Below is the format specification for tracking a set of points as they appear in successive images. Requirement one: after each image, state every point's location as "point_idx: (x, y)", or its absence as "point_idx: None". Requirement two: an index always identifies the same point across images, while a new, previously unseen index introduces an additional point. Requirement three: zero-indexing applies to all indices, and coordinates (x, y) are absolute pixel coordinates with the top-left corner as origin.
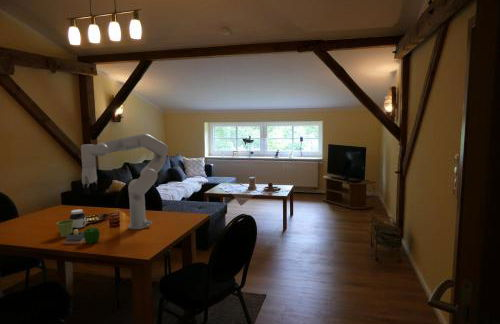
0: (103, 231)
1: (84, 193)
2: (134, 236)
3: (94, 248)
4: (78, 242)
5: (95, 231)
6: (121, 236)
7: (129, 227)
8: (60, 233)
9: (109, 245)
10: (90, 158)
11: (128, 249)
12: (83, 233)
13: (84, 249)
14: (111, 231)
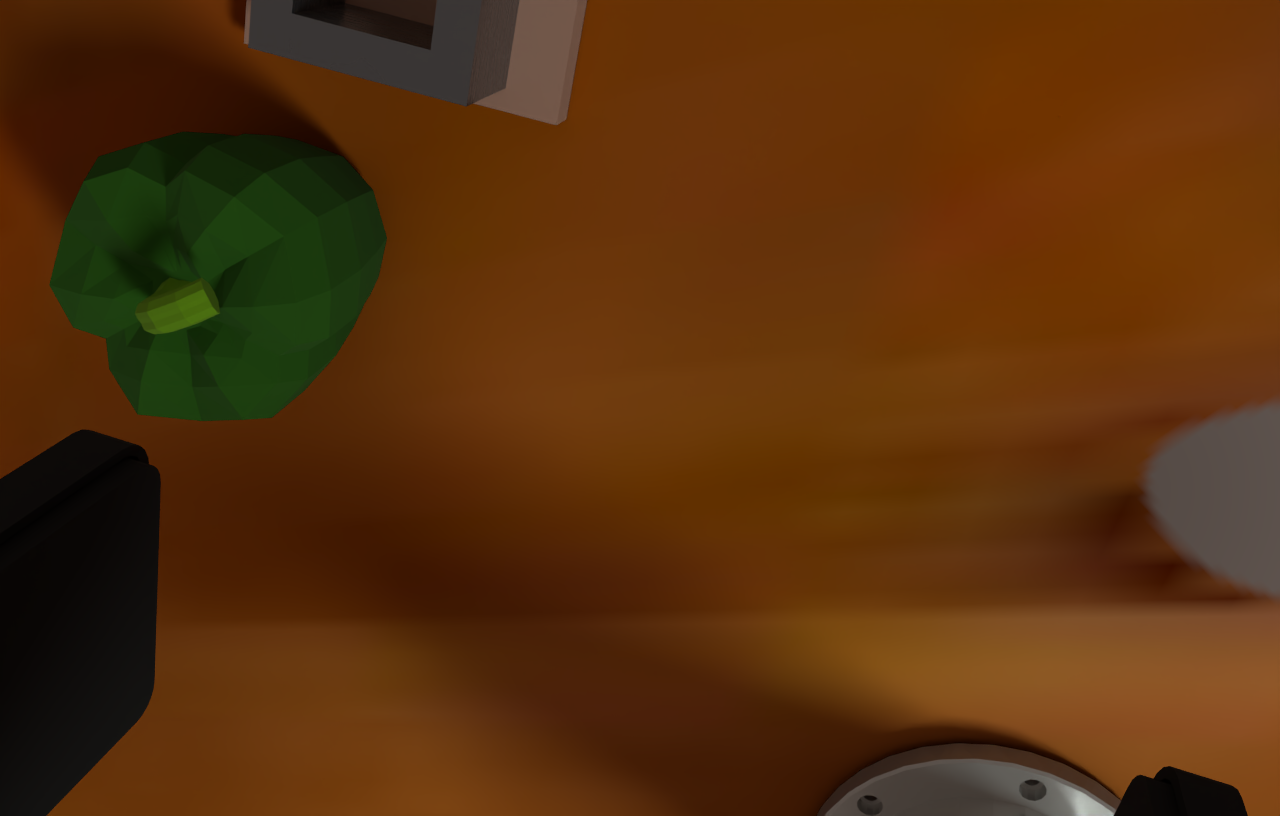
0: (893, 330)
1: (82, 447)
2: (482, 795)
3: (58, 310)
4: (250, 2)
5: (121, 380)
6: (518, 636)
7: (884, 771)
8: None
9: (160, 497)
10: None
11: None
12: (364, 75)
13: (22, 171)
14: (842, 475)
